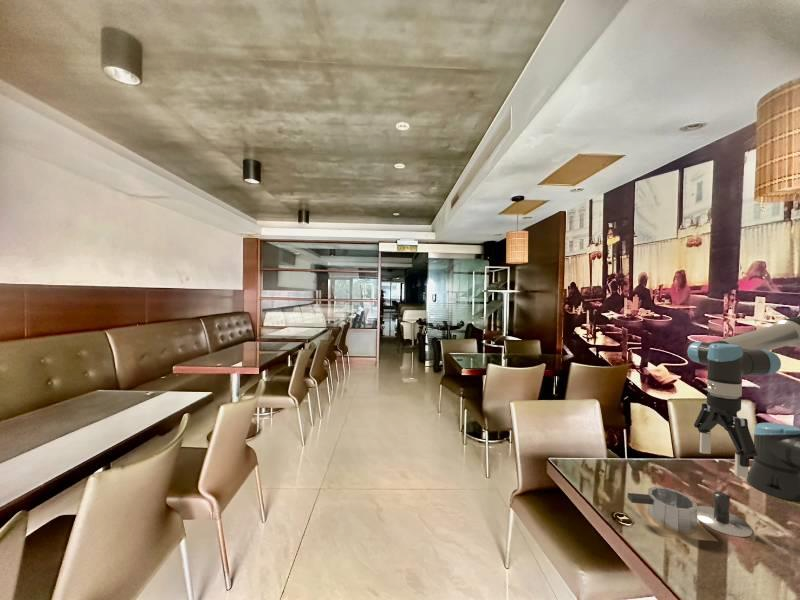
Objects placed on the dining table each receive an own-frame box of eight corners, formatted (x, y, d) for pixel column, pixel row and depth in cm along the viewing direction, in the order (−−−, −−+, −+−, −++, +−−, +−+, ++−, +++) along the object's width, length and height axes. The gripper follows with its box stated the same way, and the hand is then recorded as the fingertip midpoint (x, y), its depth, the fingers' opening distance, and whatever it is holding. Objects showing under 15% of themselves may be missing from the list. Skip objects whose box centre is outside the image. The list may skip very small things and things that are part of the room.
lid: (727, 511, 107) (728, 484, 107) (765, 541, 94) (766, 510, 94) (682, 507, 109) (683, 481, 109) (713, 536, 96) (714, 506, 96)
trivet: (681, 508, 108) (681, 506, 108) (718, 543, 93) (718, 541, 93) (631, 504, 110) (631, 502, 110) (659, 537, 95) (659, 535, 95)
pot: (679, 509, 107) (679, 488, 106) (706, 536, 95) (707, 512, 95) (620, 504, 109) (620, 483, 109) (639, 529, 98) (640, 506, 98)
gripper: (681, 383, 113) (680, 444, 114) (745, 408, 89) (743, 486, 89) (706, 384, 112) (704, 445, 113) (778, 410, 87) (775, 489, 88)
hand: (721, 463), depth 101 cm, fingers open, 13 cm apart
